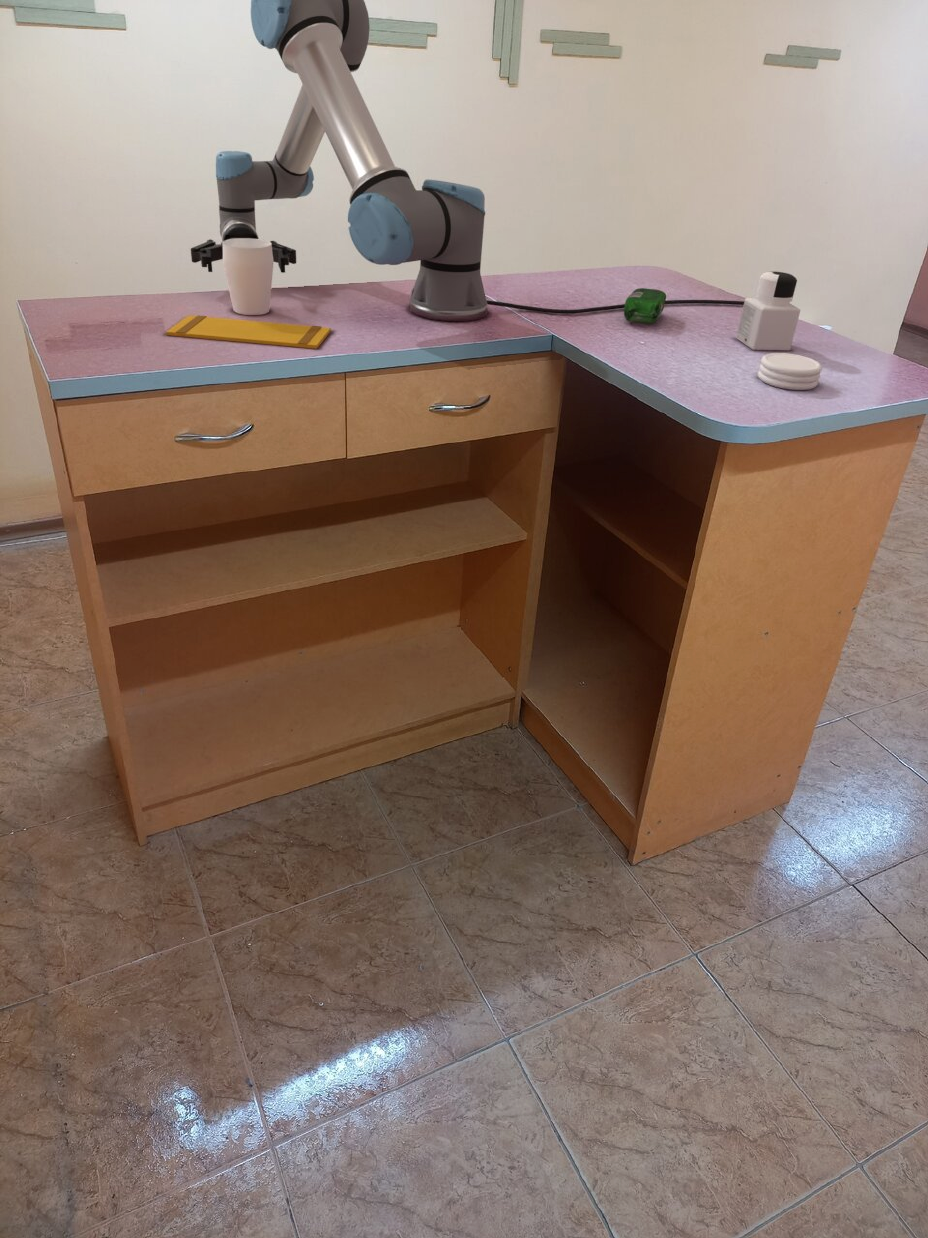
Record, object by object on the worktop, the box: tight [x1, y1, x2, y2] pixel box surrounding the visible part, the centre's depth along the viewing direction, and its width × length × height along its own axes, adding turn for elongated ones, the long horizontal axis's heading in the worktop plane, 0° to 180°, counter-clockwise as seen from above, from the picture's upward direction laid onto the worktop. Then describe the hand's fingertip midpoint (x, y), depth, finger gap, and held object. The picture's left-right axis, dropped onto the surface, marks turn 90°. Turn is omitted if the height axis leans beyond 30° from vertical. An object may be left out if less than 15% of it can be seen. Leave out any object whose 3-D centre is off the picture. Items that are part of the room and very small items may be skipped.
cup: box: [222, 238, 274, 316], centre depth 165 cm, size 9×9×12 cm
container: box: [736, 271, 801, 351], centre depth 168 cm, size 8×8×13 cm
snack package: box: [623, 287, 667, 325], centre depth 180 cm, size 7×16×5 cm, turn 161°
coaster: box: [757, 352, 823, 391], centre depth 152 cm, size 10×10×4 cm
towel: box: [165, 314, 332, 350], centre depth 156 cm, size 26×11×1 cm, turn 85°
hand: (246, 264), depth 171 cm, fingers open, 13 cm apart
